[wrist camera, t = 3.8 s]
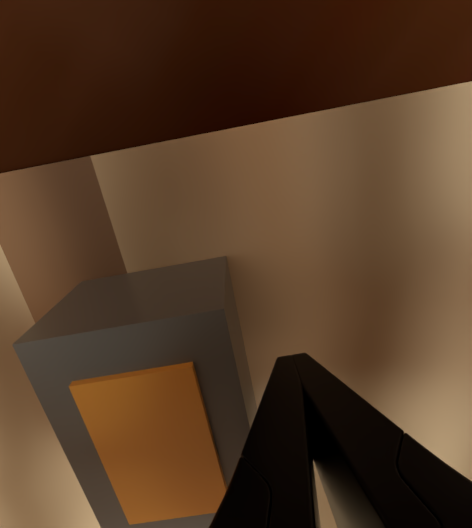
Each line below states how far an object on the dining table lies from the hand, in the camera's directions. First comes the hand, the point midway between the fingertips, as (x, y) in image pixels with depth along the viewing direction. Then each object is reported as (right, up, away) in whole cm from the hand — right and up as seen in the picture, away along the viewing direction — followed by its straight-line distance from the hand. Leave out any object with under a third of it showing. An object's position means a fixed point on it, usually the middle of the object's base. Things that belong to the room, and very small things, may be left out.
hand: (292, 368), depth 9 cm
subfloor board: (-1, -5, +4) cm, 6 cm away
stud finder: (-3, 0, +1) cm, 3 cm away
